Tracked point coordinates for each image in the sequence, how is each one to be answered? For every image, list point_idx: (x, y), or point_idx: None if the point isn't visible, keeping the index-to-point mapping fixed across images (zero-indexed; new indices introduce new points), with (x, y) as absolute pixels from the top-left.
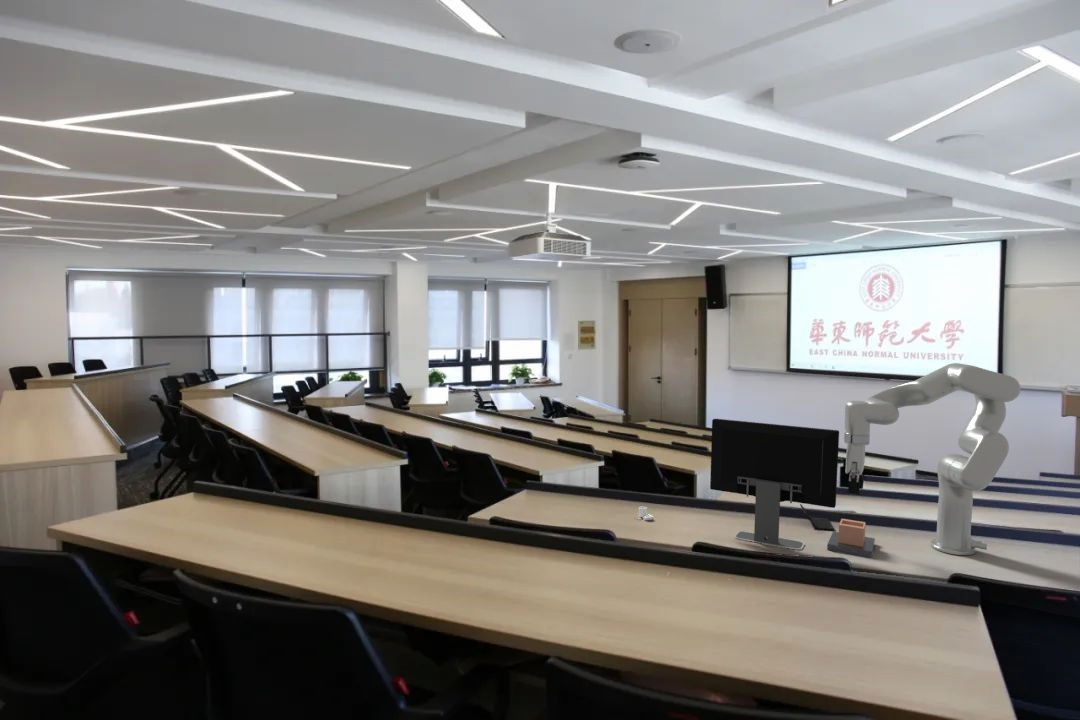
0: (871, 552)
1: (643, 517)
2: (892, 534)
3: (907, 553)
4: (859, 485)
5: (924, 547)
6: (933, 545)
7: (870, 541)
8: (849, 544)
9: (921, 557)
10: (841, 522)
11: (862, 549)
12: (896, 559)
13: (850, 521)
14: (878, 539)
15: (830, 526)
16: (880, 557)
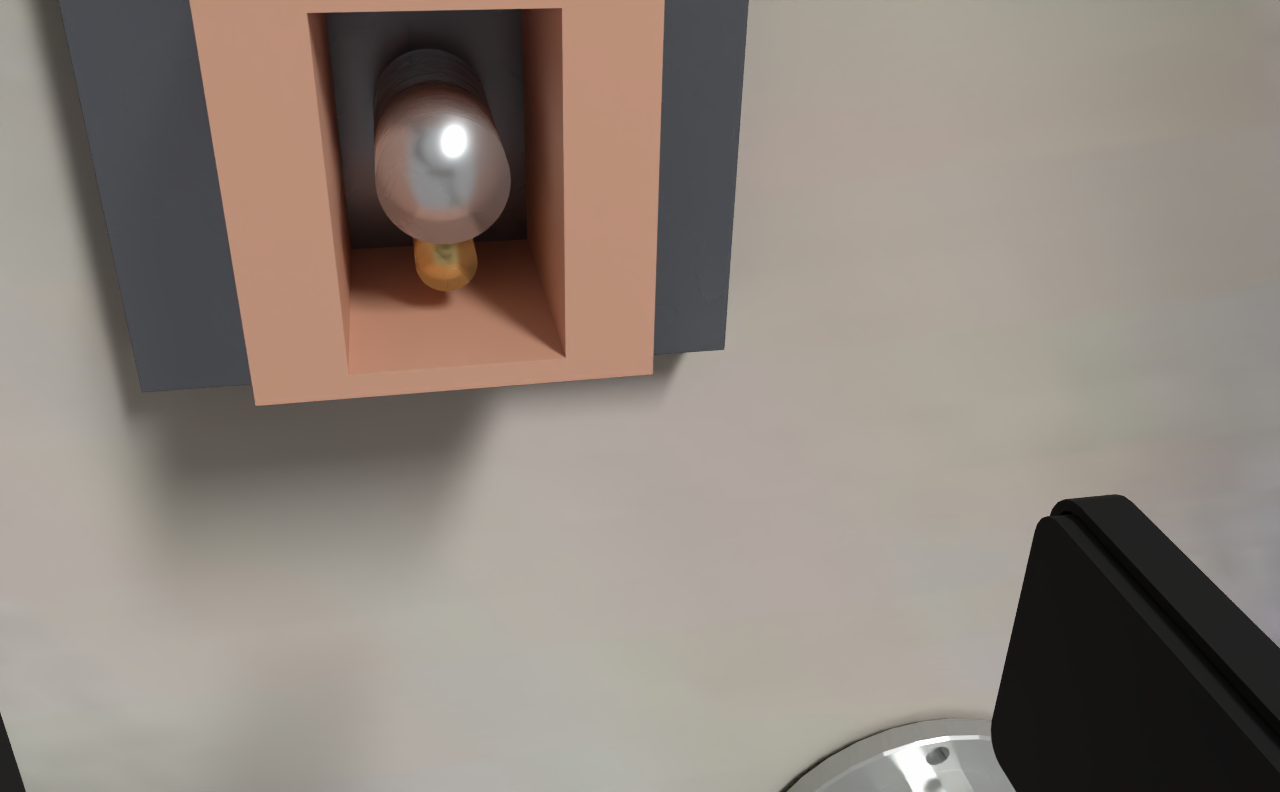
0: (147, 385)
1: None
2: (1129, 421)
3: (573, 613)
4: (1014, 721)
5: (838, 690)
6: (848, 766)
7: None
8: None
9: (526, 715)
10: (389, 6)
11: (144, 286)
12: (303, 566)
13: (563, 152)
14: (900, 327)
15: None
16: (251, 432)
